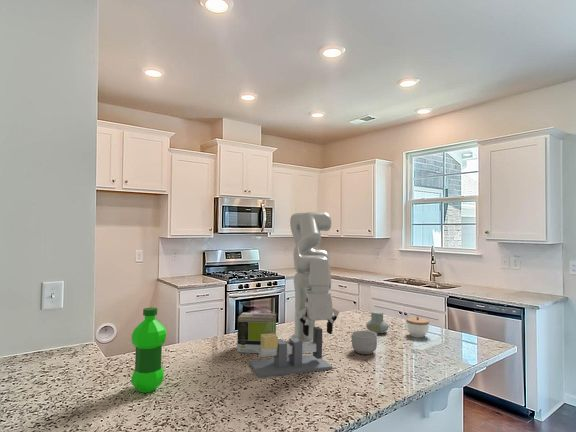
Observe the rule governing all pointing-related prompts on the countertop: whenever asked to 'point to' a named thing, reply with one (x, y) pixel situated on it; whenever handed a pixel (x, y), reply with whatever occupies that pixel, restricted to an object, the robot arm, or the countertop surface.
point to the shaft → (306, 346)
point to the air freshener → (377, 323)
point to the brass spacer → (269, 341)
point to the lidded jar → (417, 326)
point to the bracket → (288, 361)
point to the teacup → (364, 341)
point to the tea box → (254, 330)
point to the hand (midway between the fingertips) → (317, 334)
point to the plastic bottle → (148, 352)
